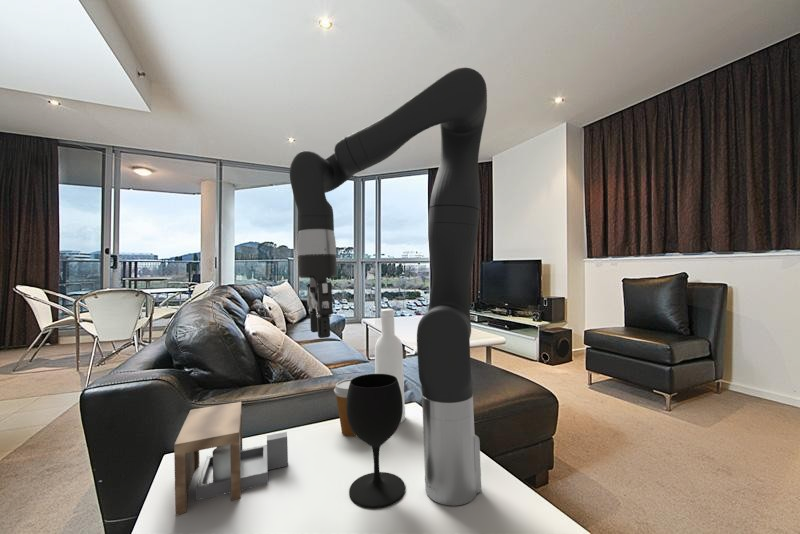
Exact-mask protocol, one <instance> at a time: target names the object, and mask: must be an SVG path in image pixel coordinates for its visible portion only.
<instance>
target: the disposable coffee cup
mask: <svg viewBox="0 0 800 534" xmlns="http://www.w3.org/2000/svg"><path fill="white" fill-rule="evenodd" d="M352 379H353V378H347V379H343V380H339V381H337V383H335V385H334V386H335V387H334V389H333V392H334V395H335V396H336V403H337V409H338V414H339V415H338V417H339V422H340V428H341V435H344V436H347V437H357V436H356V435H355V433H354V432H353V431H352V429H351V427H350V425H349V423H348V419H347V413H346V400H347V393H348V389H349V385H350V381H351V380H352Z"/></svg>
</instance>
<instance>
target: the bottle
mask: <svg viewBox="0 0 800 534" xmlns="http://www.w3.org/2000/svg"><path fill="white" fill-rule="evenodd" d="M379 315H380V325H381V326H380V329H381V331H380V332H381V334H380V336H378V338H377V340H376V342H375V346H374V374H388V375H392V376H395V377H396V378H397V380H398V383H399V386H400V390H401V394H402V402H403V413H402V418H401V421H400V424H401V423H403V422H404V421H405V419H406V406H405V383H404V382H405V380H404V378H405V377H404V354H403V344H402V341H401V339H400V338H399V337H398V336H397V335H396V334H395V312H394V309H393V308H384V309H380V314H379Z"/></svg>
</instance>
